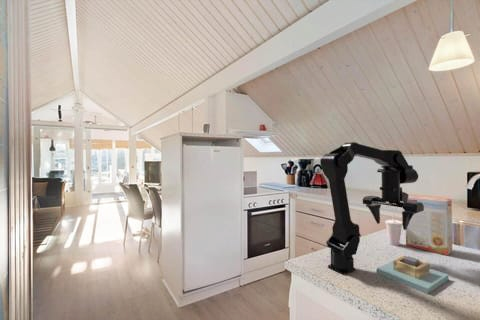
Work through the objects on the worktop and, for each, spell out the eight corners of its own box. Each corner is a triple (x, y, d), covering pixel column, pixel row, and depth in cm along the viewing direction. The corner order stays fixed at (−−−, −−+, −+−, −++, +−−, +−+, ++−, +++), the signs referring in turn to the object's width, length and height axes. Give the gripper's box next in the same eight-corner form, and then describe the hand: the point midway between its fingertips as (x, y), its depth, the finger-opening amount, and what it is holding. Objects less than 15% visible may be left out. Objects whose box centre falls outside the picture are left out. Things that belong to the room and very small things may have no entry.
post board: (376, 272, 77) (376, 256, 77) (398, 262, 84) (398, 247, 84) (427, 293, 65) (427, 274, 65) (448, 279, 72) (448, 261, 72)
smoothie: (383, 244, 101) (383, 211, 101) (387, 240, 106) (386, 209, 106) (401, 248, 97) (401, 214, 97) (404, 243, 102) (404, 211, 102)
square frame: (393, 269, 76) (393, 260, 76) (404, 264, 80) (404, 255, 80) (418, 279, 70) (418, 269, 70) (429, 273, 74) (429, 263, 74)
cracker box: (452, 252, 92) (452, 198, 92) (447, 256, 89) (447, 200, 88) (411, 242, 104) (410, 194, 103) (405, 245, 100) (404, 196, 100)
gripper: (430, 185, 83) (431, 229, 83) (377, 180, 99) (377, 217, 99) (415, 187, 77) (416, 235, 78) (361, 182, 94) (362, 222, 94)
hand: (391, 226), depth 87 cm, fingers open, 9 cm apart
